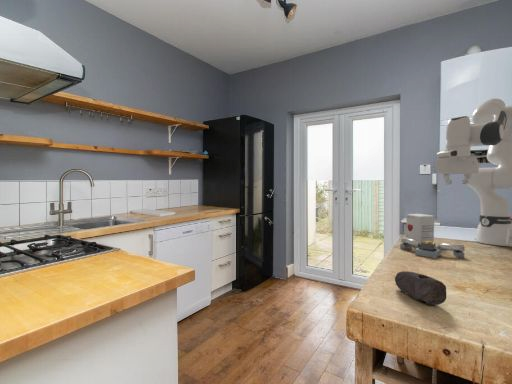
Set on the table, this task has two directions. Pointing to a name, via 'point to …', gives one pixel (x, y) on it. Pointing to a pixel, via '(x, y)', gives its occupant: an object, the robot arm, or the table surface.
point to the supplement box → (420, 227)
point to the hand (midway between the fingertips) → (457, 184)
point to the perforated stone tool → (421, 287)
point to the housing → (427, 253)
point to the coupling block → (428, 246)
